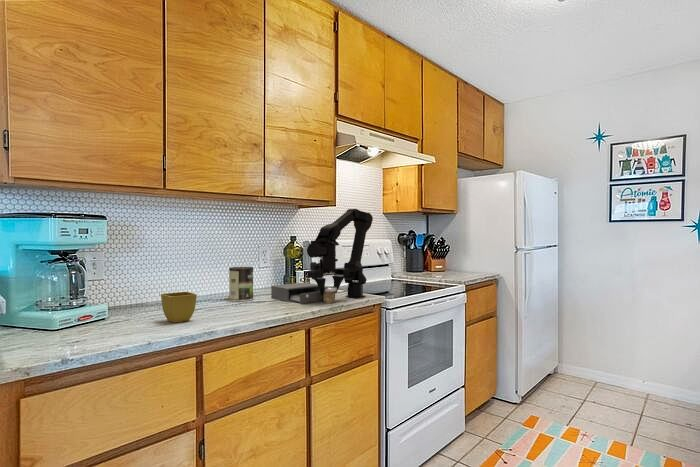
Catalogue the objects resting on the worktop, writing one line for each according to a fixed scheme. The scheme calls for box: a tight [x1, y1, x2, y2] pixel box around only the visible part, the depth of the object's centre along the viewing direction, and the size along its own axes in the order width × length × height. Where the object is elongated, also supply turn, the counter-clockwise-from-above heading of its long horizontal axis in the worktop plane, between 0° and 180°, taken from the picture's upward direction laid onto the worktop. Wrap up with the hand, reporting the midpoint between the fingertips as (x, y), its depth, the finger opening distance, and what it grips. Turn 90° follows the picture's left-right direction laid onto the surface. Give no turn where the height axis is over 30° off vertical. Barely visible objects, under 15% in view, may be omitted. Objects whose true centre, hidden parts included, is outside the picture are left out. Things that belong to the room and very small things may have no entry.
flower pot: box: [160, 291, 198, 324], centre depth 132 cm, size 9×9×9 cm
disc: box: [324, 285, 338, 292], centre depth 167 cm, size 7×7×2 cm
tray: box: [289, 292, 336, 305], centre depth 172 cm, size 18×13×4 cm
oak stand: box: [323, 292, 335, 304], centre depth 167 cm, size 4×4×5 cm
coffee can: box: [228, 266, 254, 303], centre depth 174 cm, size 10×10×14 cm
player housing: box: [270, 282, 320, 303], centre depth 179 cm, size 18×14×6 cm
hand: (328, 293), depth 167 cm, fingers closed on disc, 7 cm apart
